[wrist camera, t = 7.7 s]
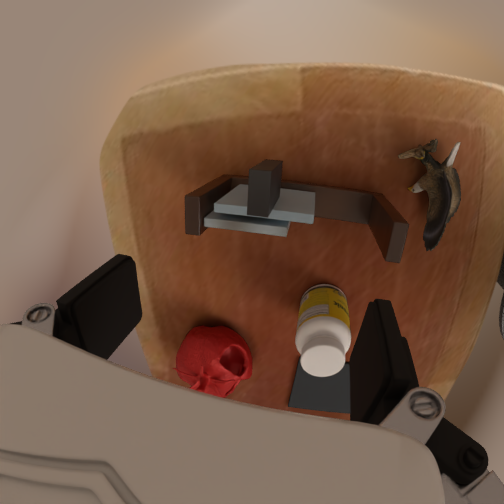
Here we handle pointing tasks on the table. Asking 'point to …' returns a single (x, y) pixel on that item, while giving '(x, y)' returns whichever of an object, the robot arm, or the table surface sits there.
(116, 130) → the table surface
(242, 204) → the sliding panel with handle
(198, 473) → the robot arm
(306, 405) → the rubber mat
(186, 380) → the pomegranate
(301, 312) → the supplement bottle
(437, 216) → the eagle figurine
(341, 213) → the dark brown u-shaped frame
